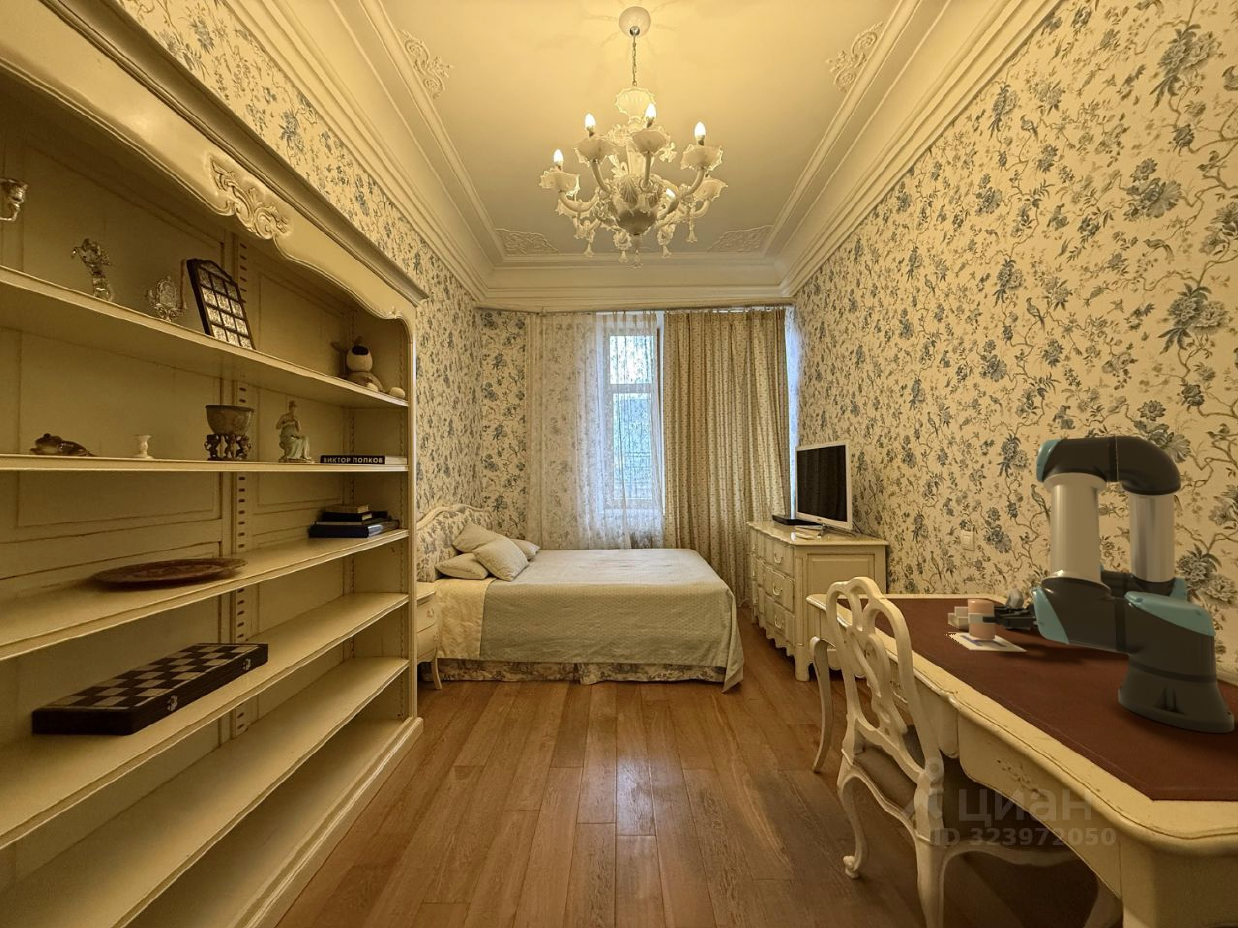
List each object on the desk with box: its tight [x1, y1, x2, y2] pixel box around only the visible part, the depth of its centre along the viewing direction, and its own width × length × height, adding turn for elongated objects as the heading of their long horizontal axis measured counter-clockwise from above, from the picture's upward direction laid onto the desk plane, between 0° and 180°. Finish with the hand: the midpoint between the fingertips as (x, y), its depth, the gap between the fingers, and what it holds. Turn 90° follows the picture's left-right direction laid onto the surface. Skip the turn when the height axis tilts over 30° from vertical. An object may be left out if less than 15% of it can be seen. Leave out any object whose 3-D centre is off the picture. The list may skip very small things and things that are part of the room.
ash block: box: [947, 612, 969, 629], centre depth 149 cm, size 5×5×4 cm
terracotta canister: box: [967, 598, 996, 640], centre depth 136 cm, size 6×6×10 cm
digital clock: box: [1001, 587, 1031, 631], centre depth 151 cm, size 16×9×11 cm, turn 131°
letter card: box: [945, 632, 1027, 653], centre depth 136 cm, size 14×14×1 cm
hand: (962, 614), depth 137 cm, fingers closed on terracotta canister, 6 cm apart
